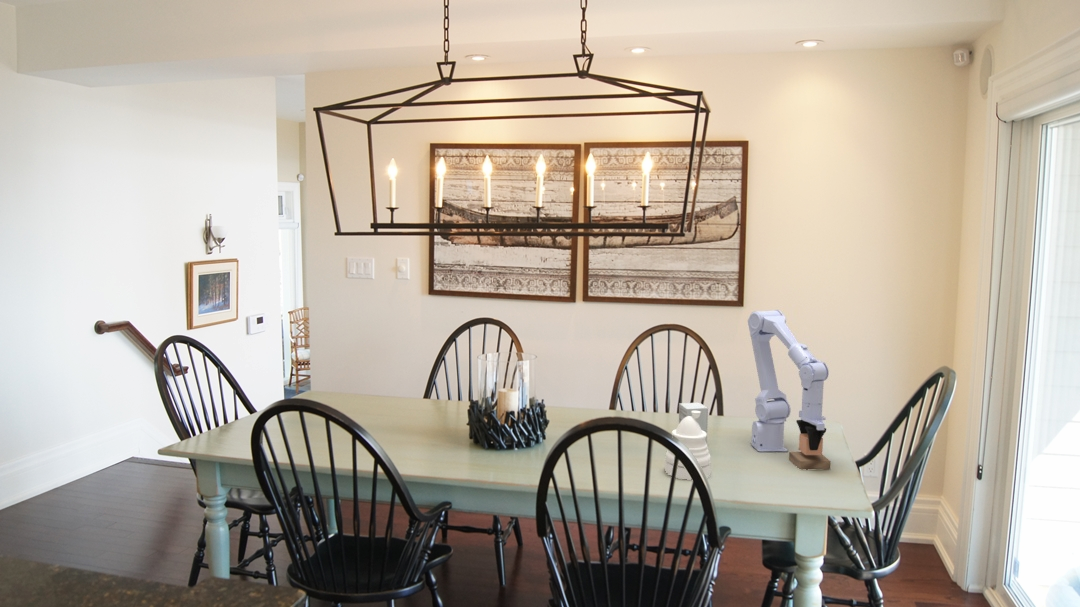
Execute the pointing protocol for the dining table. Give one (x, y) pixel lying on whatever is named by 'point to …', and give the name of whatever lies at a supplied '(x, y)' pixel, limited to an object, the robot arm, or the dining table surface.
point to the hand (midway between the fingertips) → (810, 447)
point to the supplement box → (686, 411)
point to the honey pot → (690, 446)
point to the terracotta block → (805, 446)
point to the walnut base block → (809, 461)
